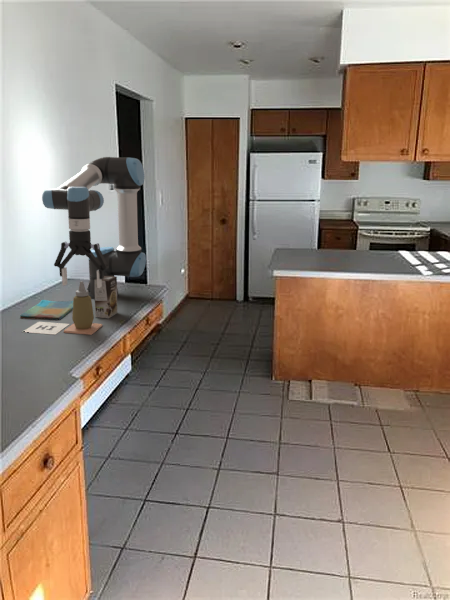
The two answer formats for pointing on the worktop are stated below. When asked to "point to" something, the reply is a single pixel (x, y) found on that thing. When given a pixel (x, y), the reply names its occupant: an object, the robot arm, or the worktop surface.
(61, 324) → the white flat square slab
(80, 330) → the coaster pad
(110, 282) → the coffee box
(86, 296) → the squeeze bottle
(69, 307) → the dish towel
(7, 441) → the worktop surface
